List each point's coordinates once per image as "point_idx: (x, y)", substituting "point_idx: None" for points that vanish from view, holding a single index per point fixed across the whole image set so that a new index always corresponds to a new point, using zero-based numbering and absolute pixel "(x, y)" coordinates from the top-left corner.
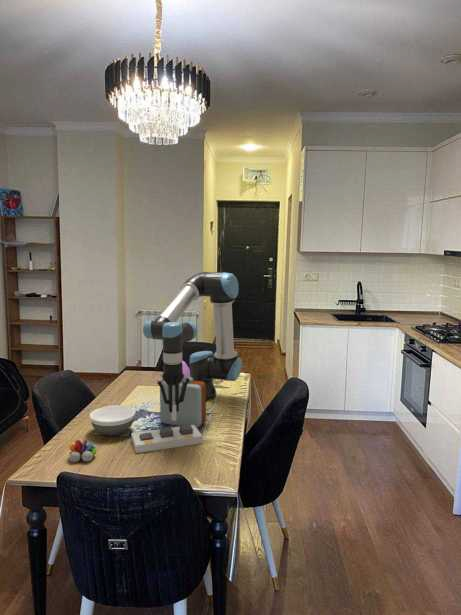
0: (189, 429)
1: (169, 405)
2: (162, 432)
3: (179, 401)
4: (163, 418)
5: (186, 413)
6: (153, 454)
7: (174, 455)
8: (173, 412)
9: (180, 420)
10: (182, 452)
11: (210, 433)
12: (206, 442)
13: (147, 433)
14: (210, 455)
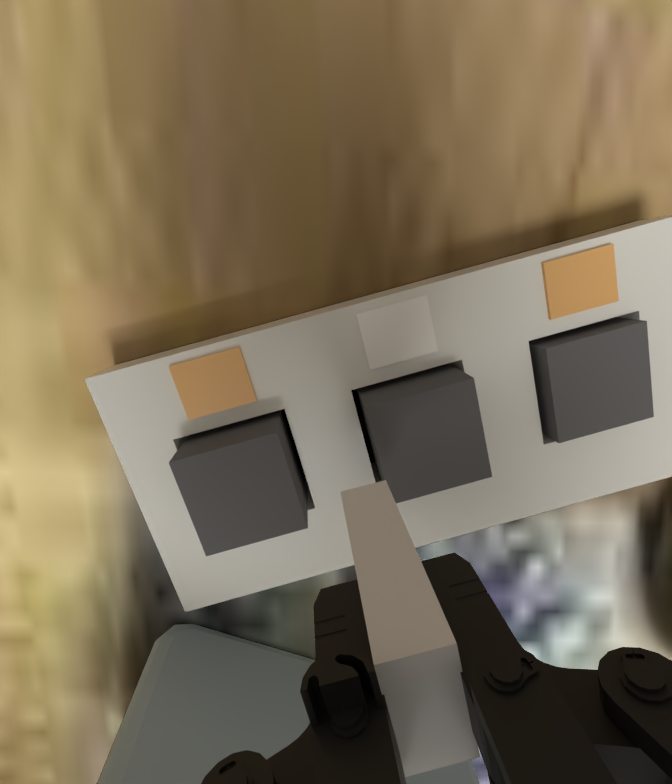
0: (203, 452)
1: (516, 646)
2: (470, 384)
3: (300, 776)
4: None
5: (250, 749)
6: (505, 185)
7: (335, 148)
8: (399, 545)
9: None
10: (270, 202)
11: (65, 539)
12: (80, 381)
13: (589, 424)
14: (12, 115)
